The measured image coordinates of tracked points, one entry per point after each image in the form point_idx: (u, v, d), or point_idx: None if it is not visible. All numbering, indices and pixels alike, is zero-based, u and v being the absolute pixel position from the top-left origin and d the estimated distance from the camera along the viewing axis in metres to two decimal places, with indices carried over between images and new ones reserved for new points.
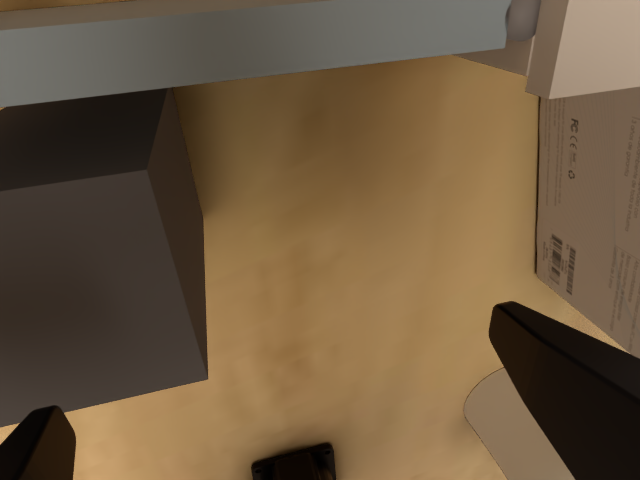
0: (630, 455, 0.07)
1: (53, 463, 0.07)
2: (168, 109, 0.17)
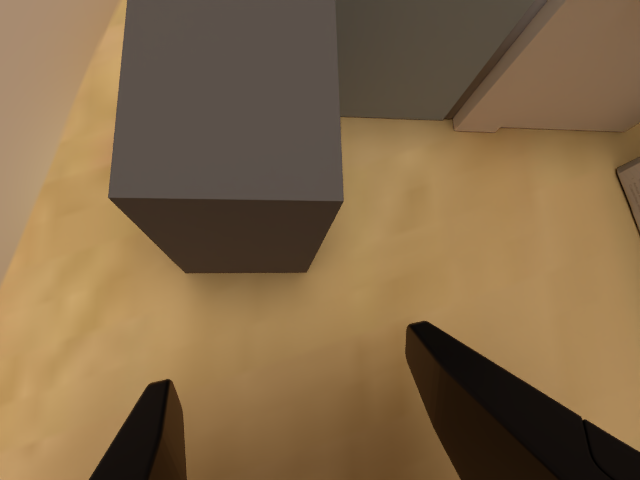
0: None
1: (174, 433, 0.08)
2: None
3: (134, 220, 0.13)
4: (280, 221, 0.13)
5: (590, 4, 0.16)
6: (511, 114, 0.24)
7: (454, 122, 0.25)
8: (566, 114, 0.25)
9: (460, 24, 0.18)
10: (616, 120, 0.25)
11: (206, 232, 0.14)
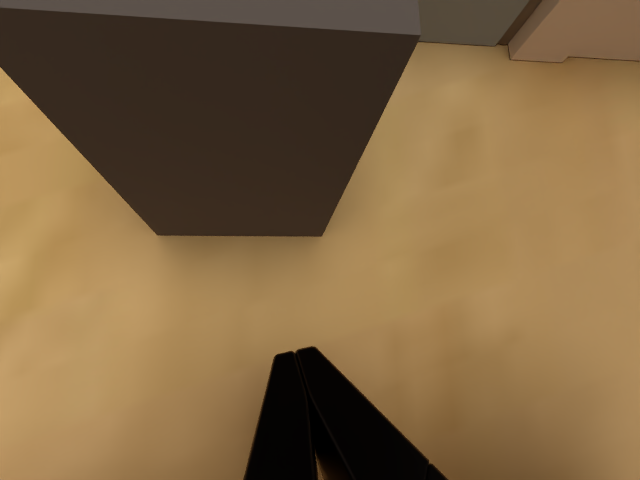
0: None
1: None
2: None
3: (33, 96, 0.07)
4: (293, 106, 0.08)
5: None
6: (591, 31, 0.18)
7: (510, 48, 0.20)
8: None
9: None
10: None
11: (169, 137, 0.09)
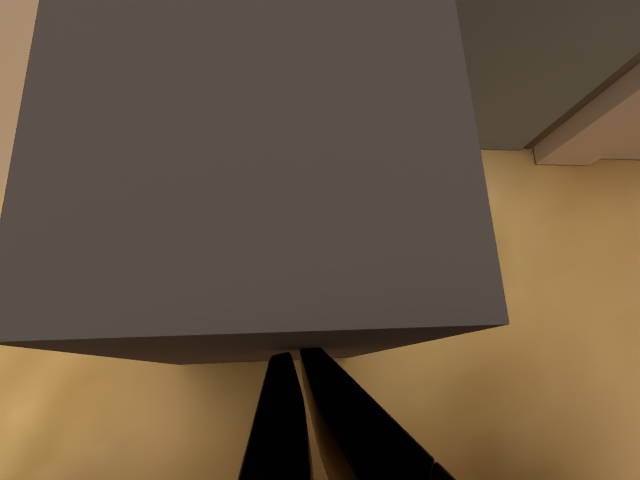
0: None
1: None
2: None
3: (67, 351, 0.07)
4: (349, 340, 0.07)
5: None
6: (621, 144, 0.17)
7: (536, 152, 0.19)
8: None
9: (595, 19, 0.12)
10: None
11: (209, 350, 0.08)
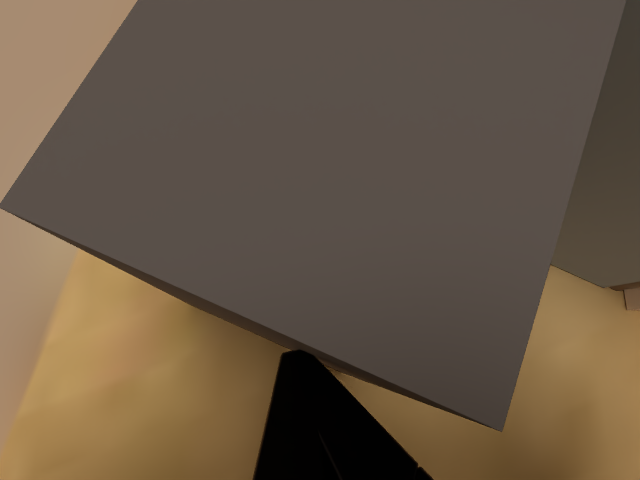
0: None
1: None
2: None
3: None
4: (338, 364, 0.07)
5: None
6: None
7: (628, 297, 0.17)
8: None
9: None
10: None
11: (207, 307, 0.08)
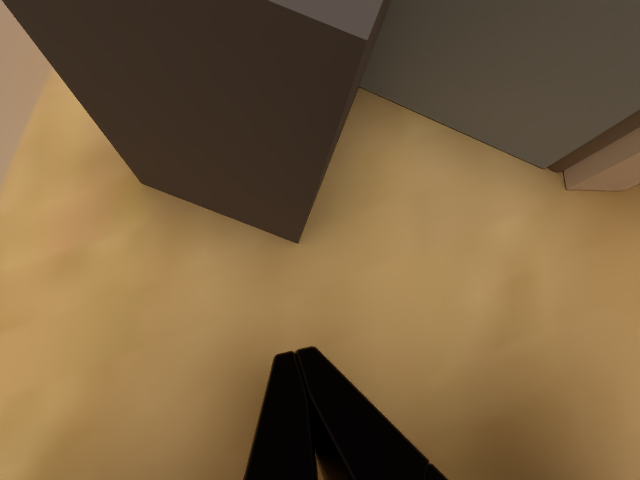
0: None
1: None
2: None
3: None
4: (246, 83, 0.07)
5: None
6: None
7: (567, 177, 0.18)
8: None
9: None
10: None
11: (130, 77, 0.08)
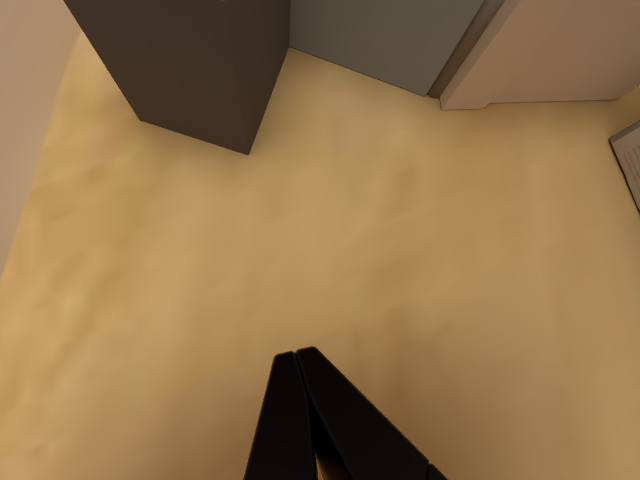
0: None
1: None
2: (287, 8, 0.21)
3: None
4: (183, 29, 0.14)
5: None
6: (498, 89, 0.23)
7: (441, 101, 0.25)
8: (555, 86, 0.24)
9: None
10: (607, 88, 0.25)
11: (127, 33, 0.16)
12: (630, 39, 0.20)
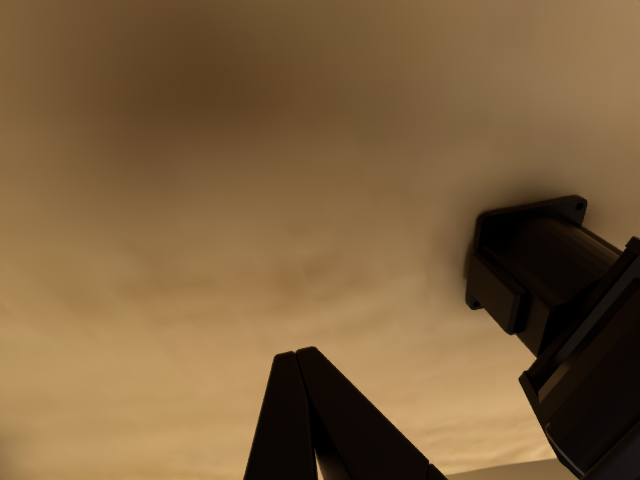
0: None
1: None
2: None
3: None
4: None
5: None
6: None
7: None
8: None
9: None
10: None
11: None
12: None
